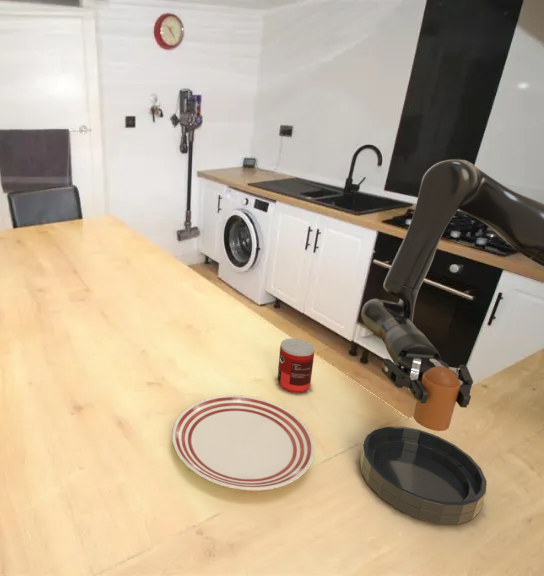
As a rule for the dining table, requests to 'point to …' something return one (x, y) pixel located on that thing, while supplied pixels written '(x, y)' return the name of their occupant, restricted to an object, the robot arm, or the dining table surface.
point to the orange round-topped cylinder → (438, 398)
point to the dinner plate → (243, 442)
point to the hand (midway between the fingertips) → (444, 400)
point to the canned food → (295, 365)
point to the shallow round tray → (423, 475)
